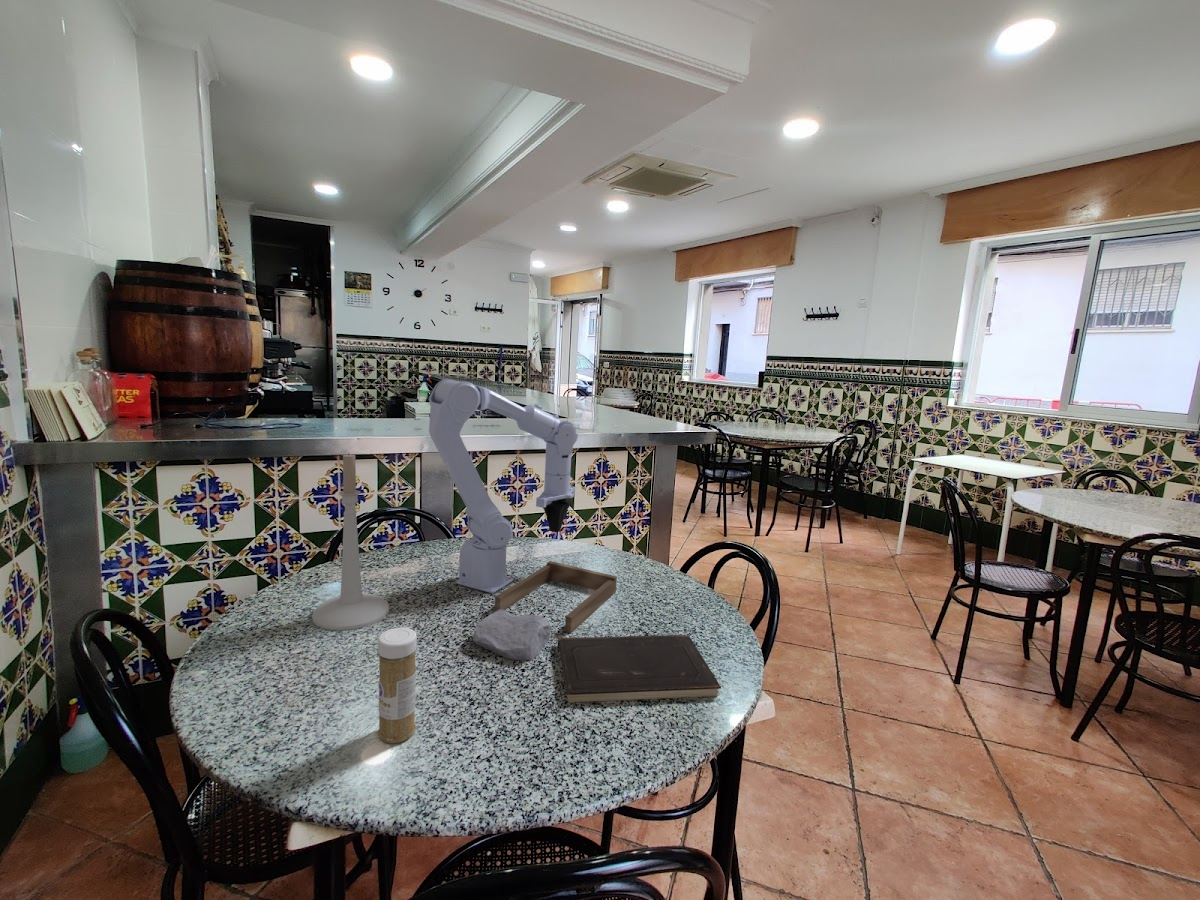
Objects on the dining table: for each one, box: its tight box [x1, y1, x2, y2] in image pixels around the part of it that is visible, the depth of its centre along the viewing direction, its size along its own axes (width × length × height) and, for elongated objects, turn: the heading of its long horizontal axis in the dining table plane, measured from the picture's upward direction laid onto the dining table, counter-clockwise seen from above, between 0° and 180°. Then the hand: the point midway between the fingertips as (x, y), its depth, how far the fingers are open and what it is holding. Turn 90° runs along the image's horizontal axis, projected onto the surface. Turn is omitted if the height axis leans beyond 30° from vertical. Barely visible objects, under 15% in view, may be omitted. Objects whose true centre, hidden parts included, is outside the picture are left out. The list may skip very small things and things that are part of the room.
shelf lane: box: [494, 560, 618, 634], centre depth 109 cm, size 16×21×4 cm
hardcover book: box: [557, 634, 722, 703], centre depth 87 cm, size 16×23×2 cm
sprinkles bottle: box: [377, 627, 418, 744], centre depth 68 cm, size 5×5×14 cm
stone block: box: [472, 609, 552, 661], centre depth 92 cm, size 12×5×10 cm
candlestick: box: [311, 452, 390, 631], centre depth 97 cm, size 13×13×30 cm
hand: (554, 531), depth 124 cm, fingers closed
